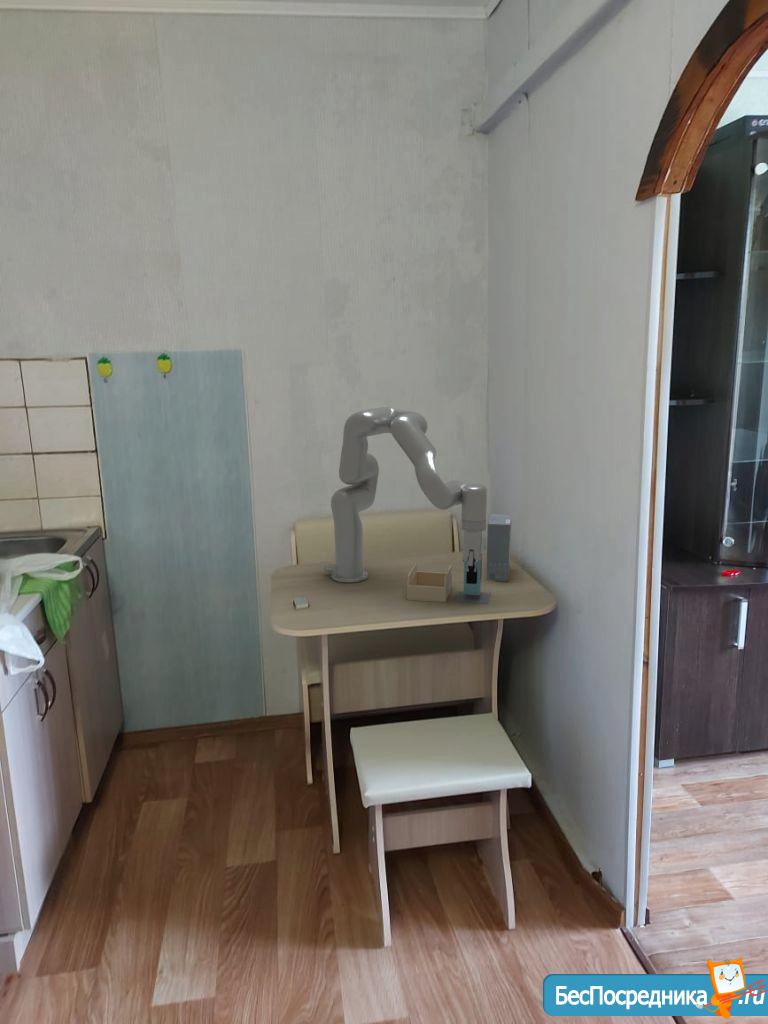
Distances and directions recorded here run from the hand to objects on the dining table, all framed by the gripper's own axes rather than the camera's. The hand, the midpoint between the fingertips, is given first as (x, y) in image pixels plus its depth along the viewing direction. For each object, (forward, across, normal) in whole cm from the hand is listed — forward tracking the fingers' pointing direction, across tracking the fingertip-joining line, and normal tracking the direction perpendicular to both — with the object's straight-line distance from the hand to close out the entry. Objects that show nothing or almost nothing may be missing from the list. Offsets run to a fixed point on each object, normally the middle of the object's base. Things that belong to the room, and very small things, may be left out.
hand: (472, 580), depth 236 cm
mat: (+6, 0, 0) cm, 6 cm away
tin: (+4, 0, 0) cm, 4 cm away
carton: (+6, -2, -14) cm, 15 cm away
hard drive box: (+7, -26, +6) cm, 27 cm away
